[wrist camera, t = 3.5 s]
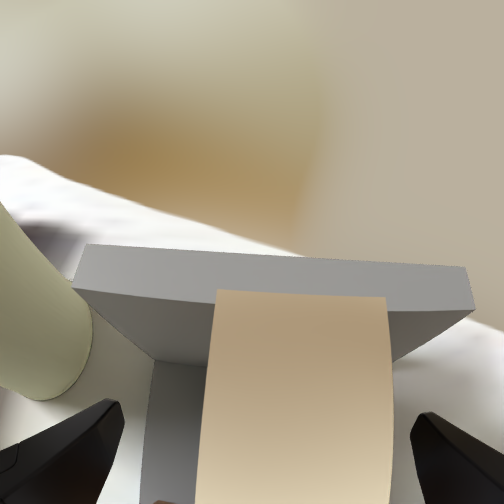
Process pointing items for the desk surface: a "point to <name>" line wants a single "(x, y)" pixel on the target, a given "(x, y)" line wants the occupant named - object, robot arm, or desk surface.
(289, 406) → the birch strip
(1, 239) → the can
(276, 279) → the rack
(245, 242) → the desk surface
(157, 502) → the offcut stack
